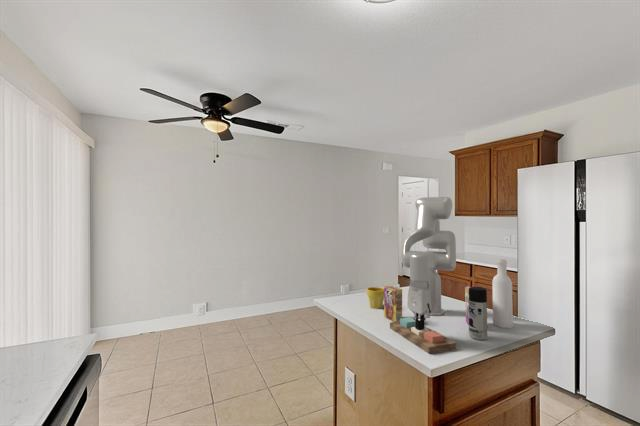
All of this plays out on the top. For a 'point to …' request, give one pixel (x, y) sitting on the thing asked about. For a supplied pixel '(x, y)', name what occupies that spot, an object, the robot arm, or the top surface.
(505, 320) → the bottle
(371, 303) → the plant pot
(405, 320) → the teal button
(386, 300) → the candy box
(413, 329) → the cream button
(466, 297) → the candy bar box
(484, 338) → the spray can
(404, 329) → the control board
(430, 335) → the brick red button
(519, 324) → the top surface
